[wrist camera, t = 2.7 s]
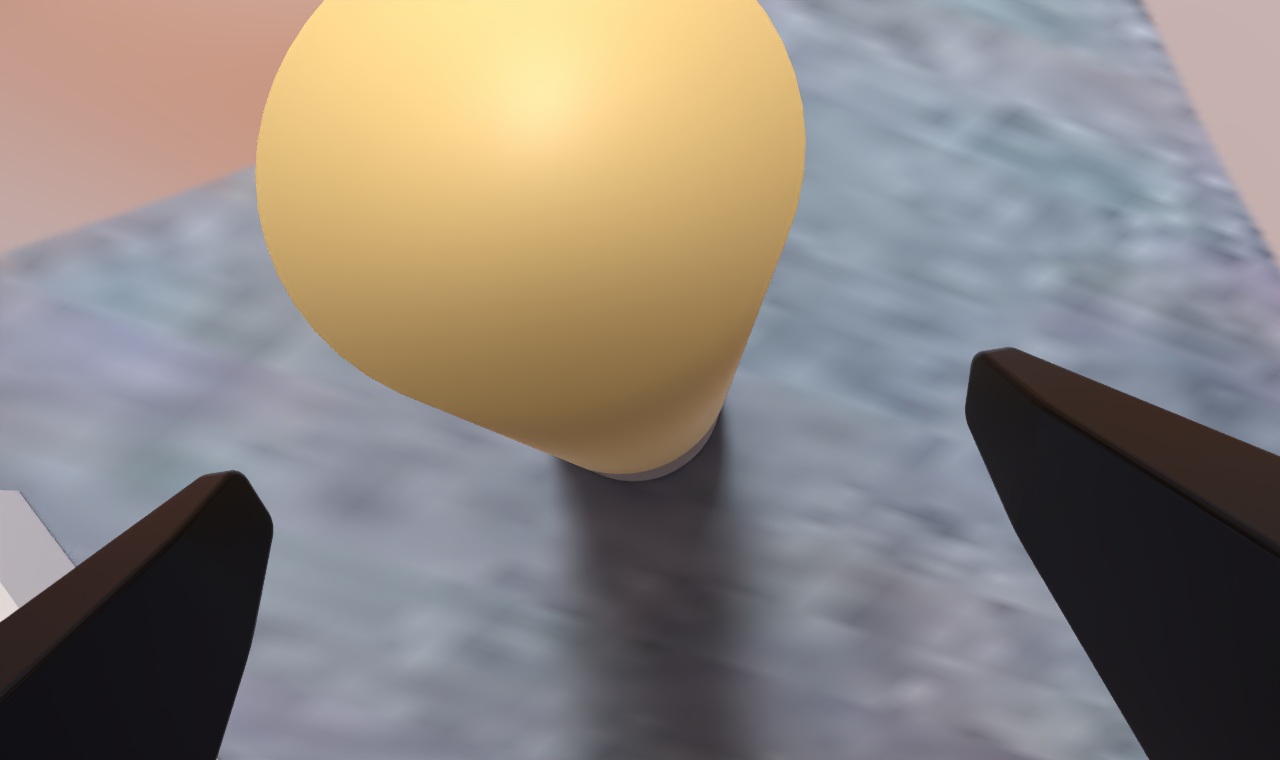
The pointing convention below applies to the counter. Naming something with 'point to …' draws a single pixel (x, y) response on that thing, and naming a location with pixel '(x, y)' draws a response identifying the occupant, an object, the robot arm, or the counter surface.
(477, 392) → the headed peg
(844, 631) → the counter surface
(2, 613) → the keyhole plate
